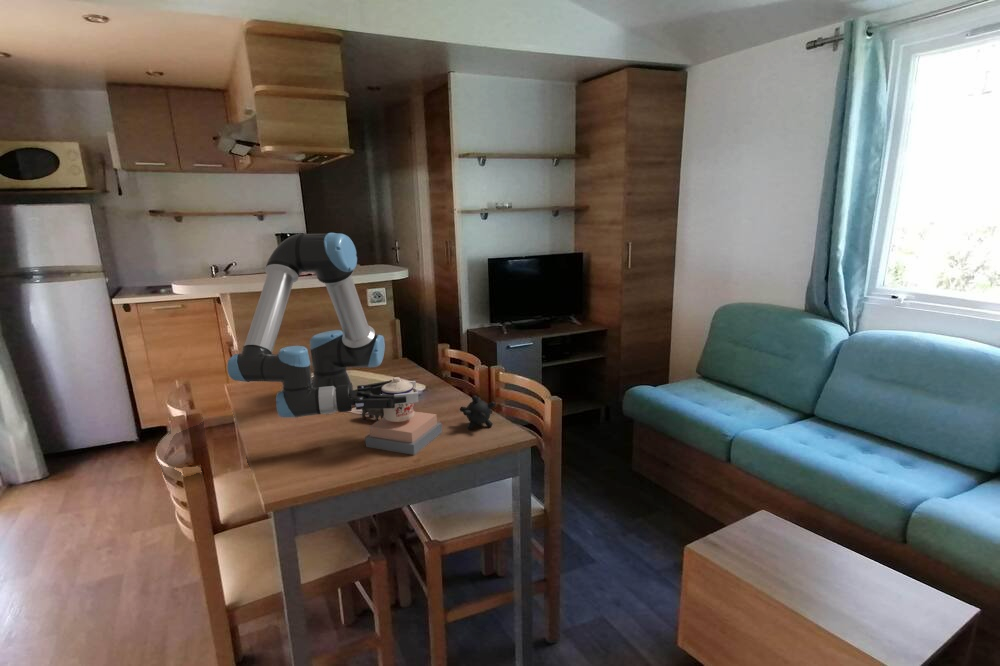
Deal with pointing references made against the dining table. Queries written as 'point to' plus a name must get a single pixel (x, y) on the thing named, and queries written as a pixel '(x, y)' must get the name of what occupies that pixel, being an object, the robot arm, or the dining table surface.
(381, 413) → the rhino figurine
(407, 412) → the teacup with lid
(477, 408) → the toy ball
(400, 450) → the brick plinth
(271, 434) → the dining table surface
